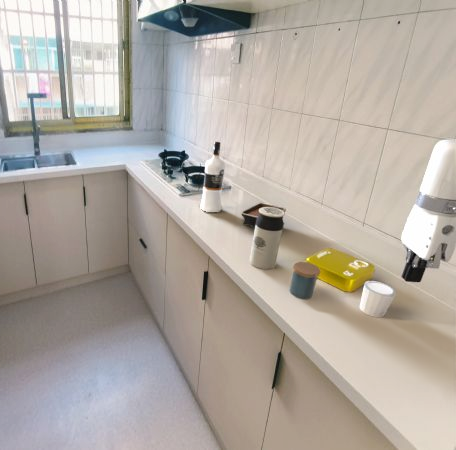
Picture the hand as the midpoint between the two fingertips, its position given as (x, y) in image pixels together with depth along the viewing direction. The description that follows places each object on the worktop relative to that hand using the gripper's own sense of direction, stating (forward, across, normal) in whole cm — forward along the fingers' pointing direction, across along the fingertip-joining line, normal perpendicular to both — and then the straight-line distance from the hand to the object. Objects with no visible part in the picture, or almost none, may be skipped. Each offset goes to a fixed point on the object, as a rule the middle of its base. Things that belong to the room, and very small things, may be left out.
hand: (410, 279), depth 75 cm
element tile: (+14, +24, +4) cm, 28 cm away
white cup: (+14, +7, +2) cm, 16 cm away
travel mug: (+14, +27, +26) cm, 40 cm away
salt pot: (+14, +12, +18) cm, 26 cm away
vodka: (+14, +72, +41) cm, 84 cm away
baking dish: (+14, +57, +21) cm, 63 cm away
